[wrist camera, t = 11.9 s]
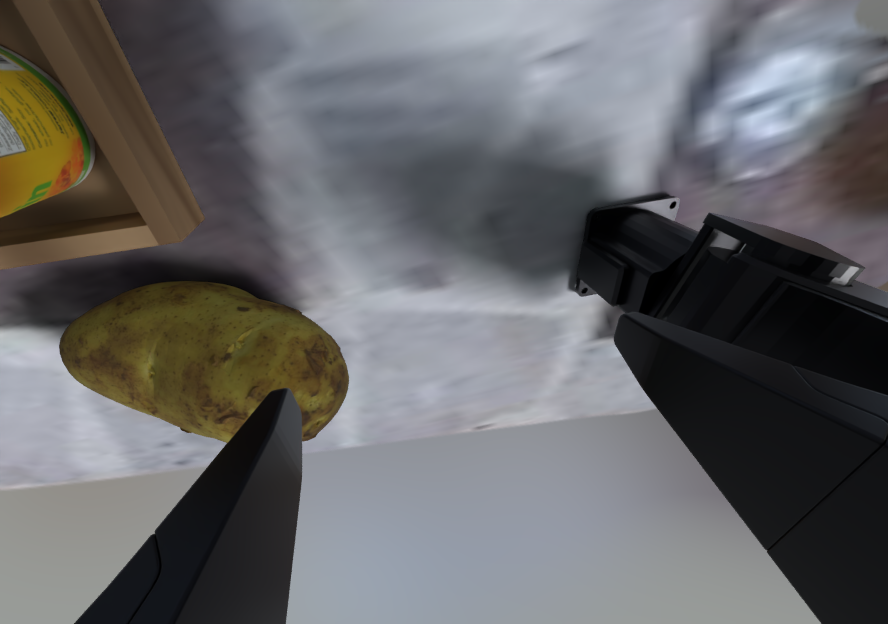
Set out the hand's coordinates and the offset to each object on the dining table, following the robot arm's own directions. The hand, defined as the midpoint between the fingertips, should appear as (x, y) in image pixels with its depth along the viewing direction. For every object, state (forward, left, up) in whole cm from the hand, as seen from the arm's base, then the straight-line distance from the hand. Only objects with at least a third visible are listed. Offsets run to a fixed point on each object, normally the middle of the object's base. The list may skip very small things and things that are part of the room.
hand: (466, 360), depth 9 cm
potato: (+11, +5, -13) cm, 18 cm away
